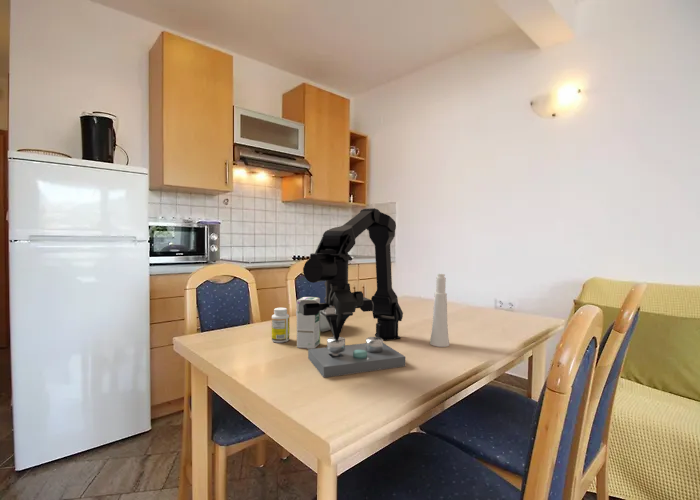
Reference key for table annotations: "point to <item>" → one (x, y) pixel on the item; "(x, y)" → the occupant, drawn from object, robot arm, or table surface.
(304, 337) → the syrup box
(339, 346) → the knob
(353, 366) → the panel
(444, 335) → the cosmetic bottle
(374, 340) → the knob
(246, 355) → the table surface
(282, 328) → the supplement bottle
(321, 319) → the cereal bowl
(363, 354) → the teal flat disc
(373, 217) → the robot arm
